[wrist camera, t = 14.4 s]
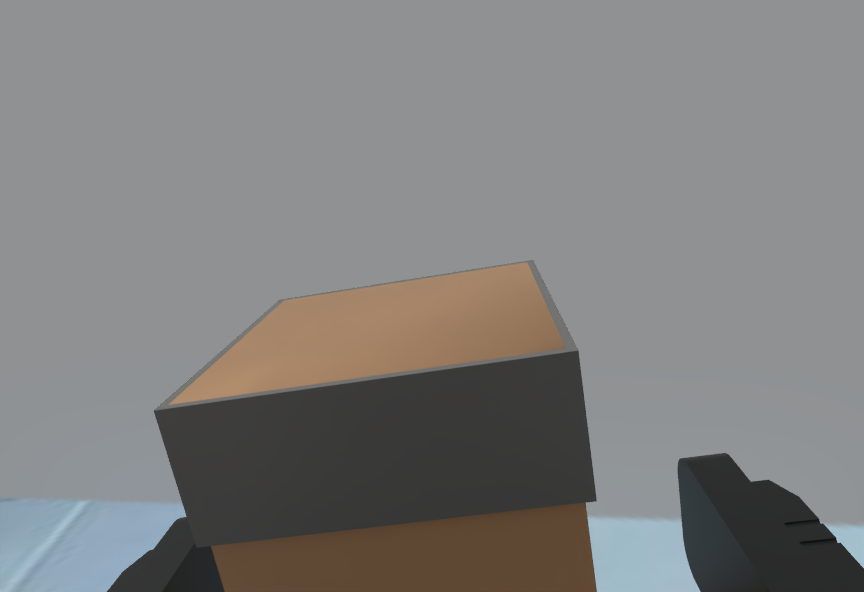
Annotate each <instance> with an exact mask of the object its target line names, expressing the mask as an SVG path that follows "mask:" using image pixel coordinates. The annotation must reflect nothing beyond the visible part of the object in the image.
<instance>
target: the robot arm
mask: <svg viewBox="0 0 864 592" xmlns="http://www.w3.org/2000/svg"><path fill="white" fill-rule="evenodd" d="M678 479H679V492H680V504H681V516H682V528H683V539H684V546H685V551H686V555H687V559H688V563H689V566H690V569H691V572H692V574H693V577H694V579H695V581H696V583H697V585H698V587H699V589H700V591H701V592H864V568H863V567H862V566H861V565H860V564H859V563H858V562H857V561H856V559H855V558H854V557H853V556H852V555H851V554H850V553H849V552H848V551H847V550H846V548H845V547H844V546H843V545H842V544H841V543H837V540H836V537H835V536H834V535H833V534H832V533H831V532H830V531H829V530H828V528H827V527H826V526H825V525H824V524H820V521H819V519H818V517H817V516H816V515H815V514H814V513H813V512H812V511H811V510H810V509H809V508H808V506H807V505H806V504H805V503H804V502H803V501H802V500H801V499H800V497H798V496H796V495H795V494H793V493H791V492H789V491H787V490H786V489H784V488H782V487H780V486H779V485H777V484H775V483H773V482H772V481H770V480H763V481H754V482H750V480H749V479H748V478H747V477H746V476H745V474H744V473H743V472H742V471H741V469H740V468H739V467H738V466H737V464H736V463H735V462H734V461H733V459H732V458H731V457H730V456H729V455H728V454H726V453H722V454H714V455H705V456H698V457H689V458H681V459H679V462H678ZM107 592H225V591H224V588H223V584H222V581H221V578H220V574H219V571H218V568H217V565H216V561H215V558H214V555H213V551H212V548H211V546H207V547H198V548H196V545H195V542H194V538H193V535H192V532H191V529H190V525H189V522H188V519H187V517H184V518H179V519H177V520H176V521H175V522H174V523H173V525H172V526H171V527H170V528H169V530H168V531H167V532H166V534H165V535H164V536H163V538H162V539H161V540H160V542H159V543H158V544H157V546H156V547H155V548H154V549H153V550H149V551H148V552H147V553H146V554H144V555H143V556H142V557H141V558H139V559H138V560H137V561H136V562H134V563H133V564H132V565H131V566H129V567H128V568H127V569H126V570H124V571H123V572H122V573H121V575H120V576H119V577H118V578H117V580H116V581H115V582H114V584H113V585H112V586H111V587H110V589H109V590H108V591H107Z"/></svg>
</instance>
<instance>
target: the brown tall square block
mask: <svg viewBox="0 0 864 592" xmlns="http://www.w3.org/2000/svg"><path fill="white" fill-rule="evenodd" d="M579 361H580V360H579V352H578V349H577V348H576V345H575V343H574V341H573V339H572V337H571V335H570V333H569V331H568V329H567V327H566V325H565V323H564V321H563V319H562V317H561V315H560V313H559V311H558V309H557V307H556V305H555V303H554V301H553V299H552V297H551V295H550V293H549V291H548V289H547V287H546V285H545V283H544V281H543V279H542V277H541V275H540V273H539V271H538V269H537V267H536V265H535V263H534V261H533V260H530V261H524V262H517V263H511V264H505V265H498V266H492V267H485V268H479V269H473V270H466V271H460V272H454V273H448V274H441V275H435V276H428V277H422V278H416V279H409V280H403V281H396V282H390V283H384V284H378V285H372V286H365V287H359V288H352V289H346V290H339V291H333V292H326V293H320V294H314V295H307V296H301V297H295V298H288V299H282V300H279V301H278V302H277V303H276V304H275V305H273V306H272V307H271V308H270V309H269V310H268V311H267V312H265V313H264V314H263V315H262V316H261V317H260V318H259V319H257V320H256V321H255V322H254V323H253V324H252V325H251V326H249V328H247V329H246V330H245V331H244V332H243V333H242V334H240V335H239V336H238V337H237V338H236V339H235V340H234V341H232V342H231V343H230V344H229V345H228V346H227V347H226V348H224V349H223V350H222V351H221V352H220V353H219V354H218V355H216V357H214V358H213V359H212V360H211V361H210V362H209V363H207V364H206V365H205V366H204V367H203V368H202V369H201V370H199V371H198V372H197V373H196V374H195V375H194V376H193V377H191V378H190V379H189V380H188V381H187V382H186V383H185V384H183V385H182V386H181V387H180V388H179V389H178V390H177V391H176V392H174V393H173V394H172V395H171V396H170V397H169V398H168V399H166V400H165V401H164V402H163V403H162V404H161V405H160V406H158V407H157V408H156V409H155V410H154V413H155V416H156V419H157V423H158V426H159V429H160V432H161V435H162V439H163V442H164V445H165V448H166V451H167V455H168V458H169V461H170V464H171V468H172V471H173V474H174V477H175V480H176V484H177V486H178V490H179V493H180V496H181V500H182V503H183V506H184V509H185V513H186V516H187V519H188V522H189V525H190V529H191V532H192V535H193V538H194V542H195V545H196V548H198V547H207V546H211V548H212V551H213V555H214V558H215V561H216V565H217V568H218V571H219V574H220V578H221V581H222V584H223V588H224V591H225V592H597V590H596V582H595V574H594V566H593V559H592V551H591V543H590V535H589V527H588V519H587V511H586V503H585V502H593V501H596V493H595V484H594V476H593V467H592V460H591V451H590V443H589V434H588V427H587V418H586V410H585V403H584V402H585V401H584V394H583V385H582V377H581V369H580V362H579Z"/></svg>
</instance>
